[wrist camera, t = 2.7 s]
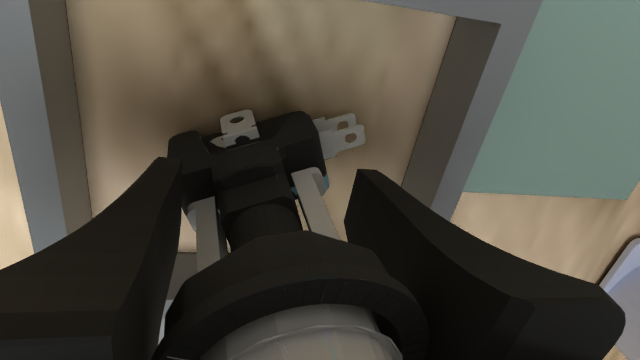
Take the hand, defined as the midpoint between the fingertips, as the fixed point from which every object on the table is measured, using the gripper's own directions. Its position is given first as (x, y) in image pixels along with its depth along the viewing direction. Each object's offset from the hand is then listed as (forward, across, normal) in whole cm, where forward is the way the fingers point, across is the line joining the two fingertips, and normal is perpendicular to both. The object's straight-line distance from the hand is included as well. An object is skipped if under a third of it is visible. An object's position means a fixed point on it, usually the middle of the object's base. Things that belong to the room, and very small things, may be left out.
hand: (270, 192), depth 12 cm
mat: (+3, -13, -4) cm, 14 cm away
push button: (+3, 0, 0) cm, 3 cm away
